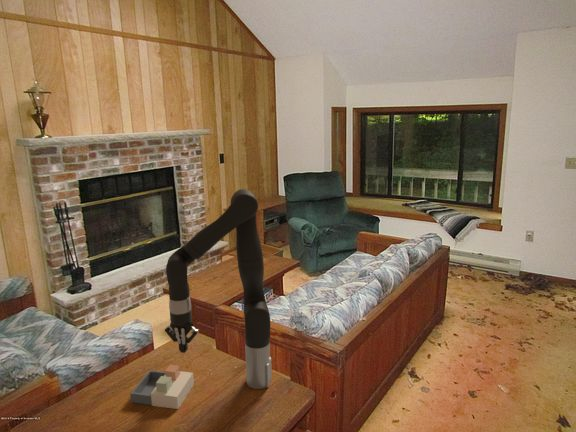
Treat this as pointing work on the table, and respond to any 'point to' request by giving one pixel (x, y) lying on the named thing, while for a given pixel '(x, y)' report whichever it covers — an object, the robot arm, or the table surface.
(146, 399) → the box
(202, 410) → the table surface
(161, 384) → the sage green cube
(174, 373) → the orange cube
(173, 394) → the cream rectangular block
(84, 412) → the table surface
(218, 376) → the table surface
